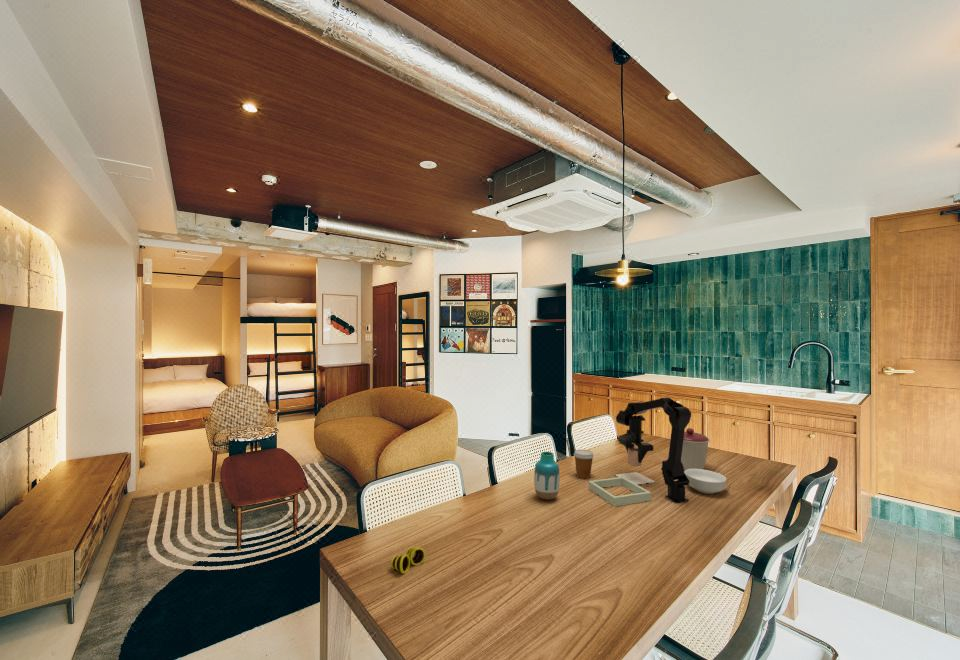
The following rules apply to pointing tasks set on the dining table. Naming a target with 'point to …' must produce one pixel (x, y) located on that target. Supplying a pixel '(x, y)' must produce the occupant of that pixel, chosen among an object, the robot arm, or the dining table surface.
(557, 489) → the vase
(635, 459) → the terracotta pot
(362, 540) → the dining table surface
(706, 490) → the cereal bowl
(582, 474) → the disposable coffee cup
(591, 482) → the shallow rimmed tray
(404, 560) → the opera glasses
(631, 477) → the potting mat
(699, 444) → the canister
